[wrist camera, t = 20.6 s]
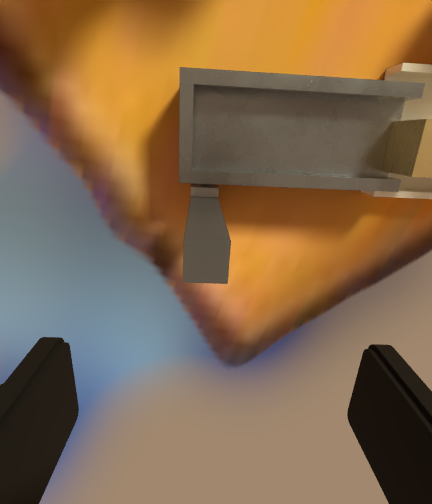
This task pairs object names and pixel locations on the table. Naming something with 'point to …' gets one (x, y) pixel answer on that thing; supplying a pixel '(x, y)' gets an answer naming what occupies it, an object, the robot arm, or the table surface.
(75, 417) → the robot arm
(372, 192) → the tray
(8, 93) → the table surface
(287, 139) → the slot block
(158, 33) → the table surface
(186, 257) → the grey rectangular bar
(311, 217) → the table surface
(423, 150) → the tan cube
